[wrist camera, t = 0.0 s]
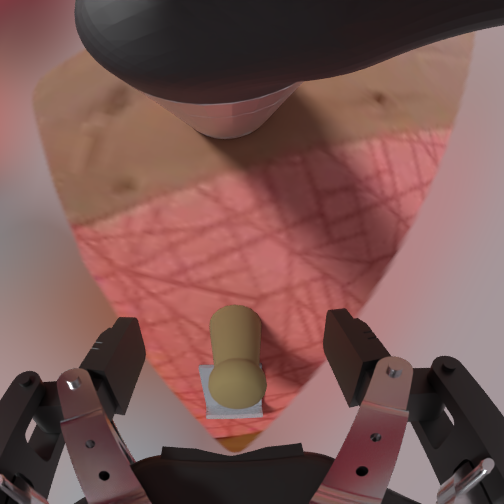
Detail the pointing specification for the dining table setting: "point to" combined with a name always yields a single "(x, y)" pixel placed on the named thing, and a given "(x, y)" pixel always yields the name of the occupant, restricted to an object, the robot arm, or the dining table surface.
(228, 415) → the rail
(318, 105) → the dining table surface
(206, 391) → the slate shelf board
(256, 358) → the cork
